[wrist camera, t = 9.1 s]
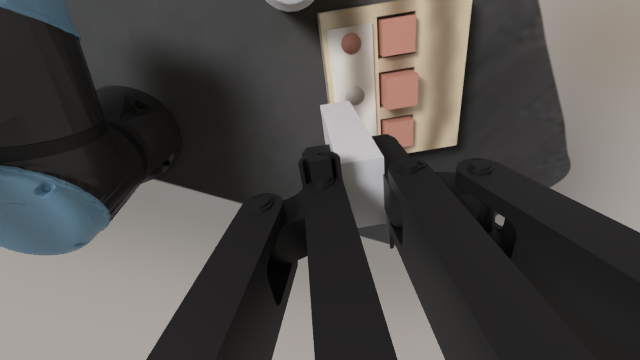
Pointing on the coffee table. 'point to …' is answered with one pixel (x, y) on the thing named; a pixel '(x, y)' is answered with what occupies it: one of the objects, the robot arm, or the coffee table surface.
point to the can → (290, 4)
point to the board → (400, 65)
